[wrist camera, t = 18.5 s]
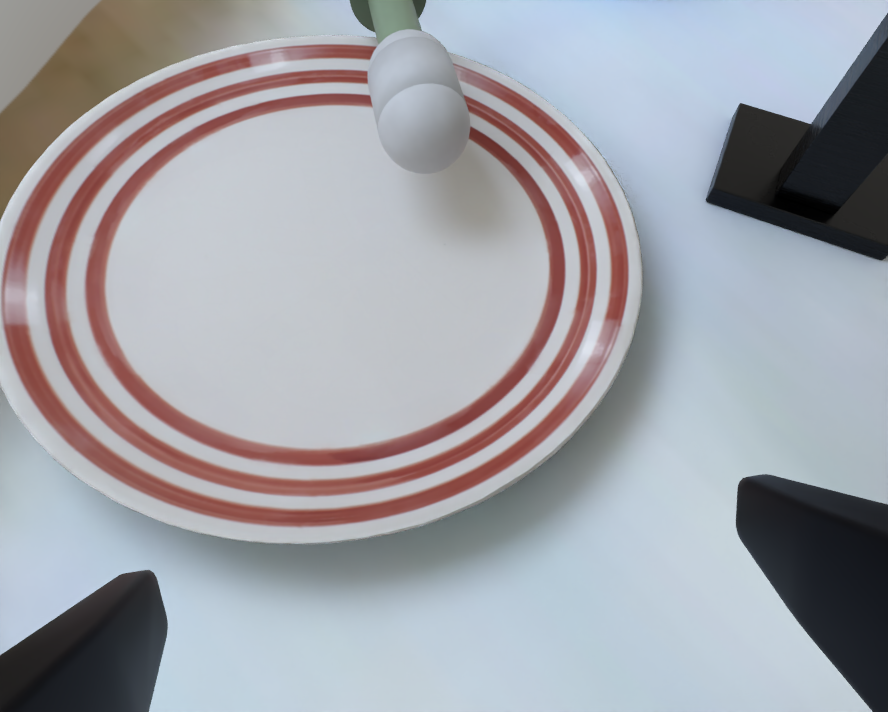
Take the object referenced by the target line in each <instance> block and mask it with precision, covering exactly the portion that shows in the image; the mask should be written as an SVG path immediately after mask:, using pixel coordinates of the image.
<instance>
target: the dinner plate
mask: <svg viewBox="0 0 888 712" xmlns="http://www.w3.org/2000/svg"><path fill="white" fill-rule="evenodd" d="M377 46H378V41H377V38H375V37H364V36H351V35H311V36H296V37H286V38H277V39H269V40H263V41H257V42H252V43H246V44H241V45H237V46H232V47H227V48H224V49H221V50H217V51H213V52H210V53H206V54H202V55H199V56H196V57H193V58H190V59H187V60H184V61H181V62H179V63H176V64H173V65H171V66H168V67H166V68H163V69H161V70H159V71H157V72H154V73H152V74H150V75H148V76H146V77H144V78H142V79H140V80H138V81H136V82H134V83H132V84H131V85H129V86H127V87H125V88H123V89H121V90H120V91H118V92H116V93H115V94H113V95H111V96H110V97H108V98H107V99H105V100H104V101H102V102H101V103H99V104H98V105H97V106H95V107H94V108H92V109H91V110H90V111H88V112H87V113H85V114H84V115H83V116H82V117H80V118H79V119H78V120H77V121H76V122H74V123H73V124H72V125H71V126H70V127H68V128H67V129H66V130H65V131H64V132H63V133H62V134H61V135H60V136H59V137H58V138H57V139H56V140H55V141H54V142H53V143H52V144H51V145H50V146H49V147H48V148H47V149H46V151H45V152H44V153H43V154H42V155H41V157H40V158H39V159H38V160H37V161H36V162H35V164H34V165H33V166H32V167H31V169H30V170H29V171H28V173H27V174H26V175H25V177H24V178H23V180H22V181H21V183H20V185H19V186H18V188H17V190H16V191H15V193H14V195H13V196H12V198H11V199H10V201H9V204H8V206H7V208H6V210H5V212H4V214H3V216H2V219H1V221H0V386H1V388H2V390H3V392H4V394H5V396H6V398H7V400H8V402H9V403H10V405H11V407H12V408H13V410H14V412H15V413H16V415H17V416H18V418H19V419H20V421H21V422H22V424H23V425H24V426H25V427H26V429H27V430H28V431H29V432H30V434H31V435H32V436H33V437H34V439H35V440H36V441H37V442H38V443H39V444H40V445H41V446H42V447H43V448H44V449H45V450H46V451H47V452H48V453H49V454H50V455H51V457H52V458H53V459H54V460H56V461H57V462H58V463H59V464H60V465H61V466H63V467H64V468H65V469H66V470H68V471H69V472H70V473H72V474H73V475H74V476H76V477H77V478H78V479H80V480H81V481H83V482H84V483H86V484H87V485H89V486H91V487H92V488H94V489H95V490H97V491H99V492H100V493H102V494H103V495H105V496H107V497H108V498H110V499H112V500H113V501H115V502H117V503H119V504H121V505H123V506H125V507H127V508H129V509H131V510H134V511H136V512H138V513H141V514H143V515H146V516H148V517H151V518H153V519H156V520H158V521H161V522H163V523H166V524H169V525H173V526H176V527H180V528H183V529H186V530H190V531H193V532H197V533H201V534H205V535H210V536H215V537H220V538H225V539H231V540H239V541H247V542H255V543H272V544H325V543H336V542H345V541H353V540H361V539H367V538H373V537H378V536H384V535H389V534H394V533H398V532H402V531H406V530H410V529H414V528H417V527H420V526H424V525H427V524H430V523H433V522H436V521H439V520H441V519H444V518H447V517H449V516H452V515H454V514H456V513H459V512H461V511H464V510H466V509H468V508H471V507H473V506H476V505H478V504H480V503H482V502H484V501H486V500H488V499H489V498H491V497H493V496H495V495H497V494H499V493H501V492H502V491H504V490H505V489H507V488H509V487H510V486H512V485H513V484H515V483H517V482H518V481H520V480H521V479H523V478H524V477H525V476H527V475H528V474H530V473H531V472H532V471H534V470H535V469H536V468H538V467H539V466H540V465H542V464H543V463H544V462H545V461H547V460H548V459H549V458H551V457H552V456H553V455H554V454H556V453H557V452H558V451H559V450H560V449H561V448H562V447H563V446H564V445H565V444H566V443H567V442H568V441H569V440H570V439H571V438H572V437H573V436H574V435H575V434H576V433H577V431H578V430H579V429H580V428H581V427H582V425H583V424H584V423H585V422H586V421H587V420H588V418H589V417H590V416H591V415H592V414H593V412H594V411H595V410H596V408H597V407H598V406H599V404H600V403H601V401H602V400H603V398H604V397H605V396H606V394H607V393H608V391H609V389H610V388H611V386H612V384H613V383H614V381H615V379H616V377H617V375H618V373H619V371H620V369H621V367H622V365H623V363H624V361H625V359H626V356H627V353H628V351H629V348H630V345H631V342H632V340H633V336H634V332H635V329H636V325H637V321H638V317H639V311H640V304H641V298H642V286H643V270H642V256H641V249H640V242H639V236H638V232H637V228H636V224H635V220H634V217H633V214H632V211H631V208H630V206H629V203H628V201H627V198H626V196H625V194H624V191H623V189H622V187H621V186H620V184H619V182H618V180H617V178H616V177H615V175H614V173H613V171H612V170H611V168H610V166H609V165H608V164H607V162H606V161H605V159H604V158H603V157H602V155H601V154H600V152H599V151H598V149H597V148H596V147H595V146H594V145H593V144H592V143H591V142H590V140H589V139H588V138H587V137H586V136H585V135H584V134H583V133H582V132H581V131H580V130H579V129H578V128H577V127H576V126H575V125H574V124H573V123H572V122H571V121H570V120H569V119H568V118H567V117H566V116H565V115H564V114H563V113H561V112H560V111H559V110H558V109H556V108H555V107H554V106H553V105H551V104H550V103H549V102H548V101H546V100H545V99H544V98H542V97H541V96H539V95H538V94H536V93H535V92H533V91H532V90H530V89H529V88H527V87H526V86H524V85H522V84H521V83H519V82H517V81H515V80H514V79H512V78H510V77H508V76H506V75H504V74H502V73H500V72H498V71H496V70H494V69H492V68H490V67H487V66H485V65H482V64H480V63H478V62H475V61H473V60H470V59H467V58H465V57H462V56H459V55H456V54H453V53H450V52H448V54H449V56H450V58H451V60H452V63H453V66H454V69H455V72H456V75H457V78H458V81H459V84H460V87H461V90H462V92H463V95H464V98H465V101H466V104H467V107H468V111H469V116H470V133H469V139H468V141H467V144H466V146H465V149H464V151H463V152H462V154H461V155H460V157H459V158H458V159H457V160H456V161H455V162H454V163H453V164H451V165H450V166H449V167H447V168H445V169H444V170H442V171H439V172H436V173H431V174H420V173H414V172H410V171H407V170H405V169H403V168H402V167H400V166H399V165H397V164H396V163H395V162H394V161H393V160H392V159H391V158H390V157H389V155H388V154H387V153H386V152H385V150H384V148H383V146H382V143H381V141H380V138H379V134H378V129H377V125H376V120H375V116H374V111H373V106H372V102H371V97H370V92H369V87H368V67H369V62H370V59H371V56H372V54H373V52H374V50H375V49H376V47H377Z"/></svg>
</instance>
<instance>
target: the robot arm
mask: <svg viewBox="0 0 888 712" xmlns="http://www.w3.org/2000/svg"><path fill="white" fill-rule="evenodd" d="M736 528H737V532H738V535H739V537H740V539H741V541H742V542H743V544H744V545H745V547H746V548H747V550H748V551H749V553H750V554H751V555H752V557H753V558H754V560H755V561H756V563H757V564H758V566H759V567H760V568H761V570H762V571H763V573H764V574H765V576H766V577H767V579H768V580H769V581H770V583H771V584H772V586H773V587H774V589H775V590H776V592H777V593H778V594H779V596H780V597H781V599H782V600H783V602H784V603H785V605H786V606H787V607H788V609H789V610H790V612H791V613H792V614H793V616H794V617H795V618H796V620H797V621H798V622H799V624H800V625H801V626H802V627H803V629H804V630H805V631H806V632H807V634H808V635H809V636H810V637H811V638H812V640H813V641H814V642H815V643H816V644H817V646H818V647H819V648H820V649H821V650H822V652H823V653H824V654H825V655H826V656H827V658H828V659H829V660H830V661H831V662H832V664H833V665H834V666H835V667H836V668H837V669H838V671H839V672H840V673H841V674H842V675H843V677H844V678H845V679H846V680H847V681H848V683H849V684H850V685H851V686H852V687H853V689H854V690H855V691H856V692H857V693H858V695H859V696H860V697H861V698H862V699H863V700H864V702H865V703H866V704H867V705H868V706H869V708H870V709H871V710H872V711H873V712H888V505H887V504H883V503H879V502H875V501H871V500H867V499H863V498H859V497H855V496H851V495H847V494H843V493H840V492H836V491H832V490H828V489H824V488H820V487H816V486H812V485H808V484H804V483H800V482H796V481H792V480H788V479H784V478H780V477H776V476H772V475H767V474H765V475H757V476H751V477H745V478H743V479H742V480H741V481H740V482H739V485H738V492H737V511H736ZM167 629H168V623H167V616H166V612H165V608H164V605H163V601H162V597H161V593H160V589H159V585H158V581H157V578H156V576H155V575H154V573H153V572H151V571H150V570H144V571H138V572H131V573H125V574H122V575H119V576H118V577H116V578H115V579H113V580H112V581H110V582H109V583H107V584H106V585H104V586H103V587H101V588H100V589H98V590H97V591H95V592H94V593H92V594H91V595H89V596H88V597H86V598H85V599H83V600H82V601H80V602H79V603H77V604H76V605H74V606H73V607H71V608H70V609H69V610H67V611H66V612H64V613H63V614H61V615H60V616H58V617H57V618H55V619H54V620H52V621H51V622H49V623H48V624H46V625H45V626H43V627H42V628H40V629H39V630H37V631H36V632H34V633H33V634H31V635H30V636H28V637H27V638H25V639H24V640H22V641H21V642H19V643H18V644H17V645H15V646H14V647H12V648H11V649H9V650H8V651H6V652H5V653H3V654H2V655H0V712H149V708H150V704H151V700H152V696H153V692H154V687H155V683H156V679H157V675H158V670H159V666H160V662H161V658H162V654H163V649H164V645H165V641H166V637H167Z"/></svg>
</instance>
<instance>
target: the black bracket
mask: <svg viewBox="0 0 888 712" xmlns="http://www.w3.org/2000/svg"><path fill="white" fill-rule="evenodd" d="M706 201H707V202H709V203H712V204H715V205H718V206H721V207H724V208H727V209H730V210H733V211H736V212H739V213H742V214H745V215H748V216H751V217H754V218H757V219H760V220H763V221H766V222H769V223H772V224H775V225H778V226H781V227H784V228H787V229H790V230H793V231H796V232H799V233H802V234H805V235H808V236H811V237H814V238H817V239H820V240H823V241H826V242H829V243H832V244H835V245H838V246H841V247H843V248H846V249H849V250H852V251H855V252H858V253H861V254H864V255H867V256H870V257H873V258H876V259H879V260H883V259H884V258H885V257H887V256H888V13H887V15H886V16H885V18H884V19H883V21H882V22H881V23H880V25H879V26H878V28H877V29H876V31H875V32H874V34H873V35H872V37H871V38H870V39H869V41H868V42H867V44H866V45H865V47H864V48H863V50H862V51H861V53H860V54H859V55H858V57H857V58H856V60H855V61H854V63H853V64H852V66H851V67H850V68H849V70H848V71H847V73H846V74H845V76H844V77H843V79H842V80H841V82H840V83H839V84H838V86H837V87H836V89H835V90H834V92H833V93H832V95H831V96H830V97H829V99H828V100H827V102H826V103H825V105H824V106H823V108H822V109H821V111H820V112H819V113H818V115H817V116H816V118H815V119H814V121H813V122H812V124H808V123H805V122H802V121H798V120H795V119H792V118H788V117H785V116H782V115H778V114H775V113H772V112H768V111H765V110H762V109H758V108H755V107H752V106H749V105H745V104H742V103H740V104H739V106H738V108H737V110H736V112H735V113H734V115H733V117H732V120H731V124H730V127H729V130H728V133H727V136H726V139H725V142H724V145H723V148H722V151H721V154H720V157H719V161H718V164H717V167H716V170H715V173H714V176H713V179H712V182H711V185H710V188H709V191H708V195H707V198H706Z"/></svg>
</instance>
